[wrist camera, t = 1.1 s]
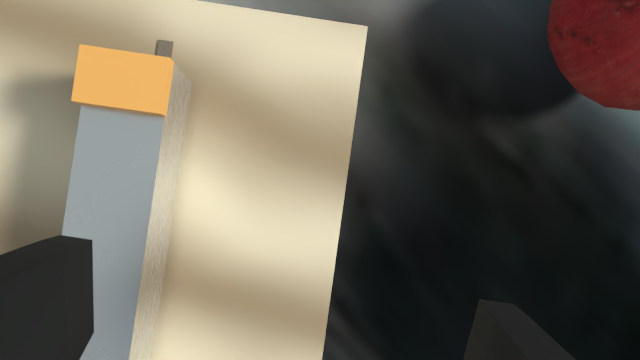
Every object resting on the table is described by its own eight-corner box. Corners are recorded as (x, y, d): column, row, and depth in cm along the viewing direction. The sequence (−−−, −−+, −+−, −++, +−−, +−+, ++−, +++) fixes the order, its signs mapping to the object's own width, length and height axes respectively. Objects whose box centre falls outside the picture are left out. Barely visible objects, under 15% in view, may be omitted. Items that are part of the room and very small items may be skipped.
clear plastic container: (151, 448, 19) (115, 511, 15) (56, 437, 19) (-3, 498, 15) (204, 84, 19) (182, 59, 15) (111, 71, 19) (66, 42, 15)
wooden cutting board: (290, 550, 21) (290, 620, 18) (-242, 489, 20) (-353, 551, 17) (361, 41, 22) (373, 13, 18) (-157, -37, 21) (-247, -83, 17)
